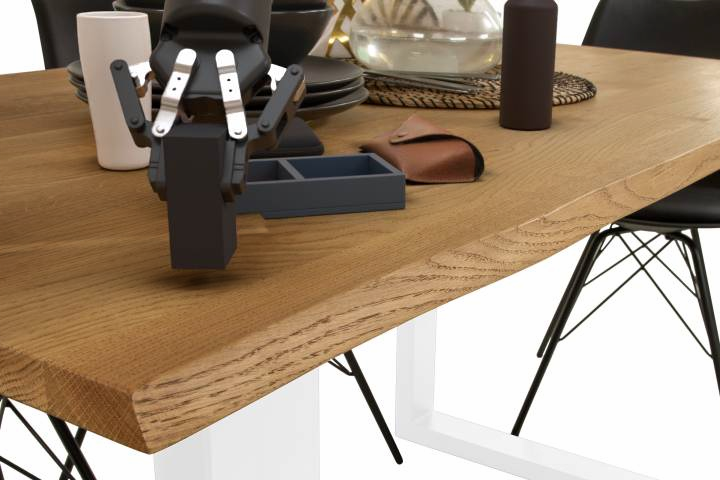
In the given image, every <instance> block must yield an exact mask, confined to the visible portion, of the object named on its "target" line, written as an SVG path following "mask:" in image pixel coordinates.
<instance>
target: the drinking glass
mask: <svg viewBox="0 0 720 480" xmlns="http://www.w3.org/2000/svg"><path fill="white" fill-rule="evenodd" d="M76 29H77V42H78V43H77V44H78V52H79V59H80V65H81V70H82V76H83V81H84V87H85V91H86V96H87V102H88V108H89V113H90V119H91V123H92V129H93V134H94V140H95V147H96V157H97V163H98V165H99V166H100V167H102V168H104V169H106V170H110V171H111V170H112V171H133V170H140V169H144V168H147V167H148V166H149V159H150V153H151V148H149V147H146V148H139V147H137V146H136V145H135V143H134V141H133V138H132V136H131V134H130V131H129V129H128V126H127V124H126V121H125V118H124V114H123V111H122V107H121V104H120V101H119V97H118V94H117V91H116V87H115V84H114V80H113V77H112V74H111V70H110V64H111V63H112V62H113V61H114V60H117V59H122V60H124V61H126V62H127V64H128V66H130V65H134V64H138V63H142V62H145V61H149V58H150V55H151V53H152V52H153V51H152V38H151V30H150V22H149V15H148V13H145V12H138V11H87V12H80V13H77V14H76ZM152 85H153V79H152V80H151V81H150V82H149V83H148V91H147V92H146V94H145V97H144V98H140V101H141V105H142V108H143V111H144V114H145V118H146V120H148V121H151V122H152V105H153V103H152V102H153V101H152V100H153V99H152V97H153V95H152V93H153V92H152V91H153V90H152V89H153V87H152Z"/></svg>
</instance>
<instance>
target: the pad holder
mask: <svg viewBox="0 0 720 480" xmlns="http://www.w3.org/2000/svg"><path fill="white" fill-rule="evenodd" d="M405 176H406V175H405V174H404V173H402V172H401V171H399V170H398V169H396V168H395V167H394V166H392V165H391V164H389V163H388V162H386V161H385V160H383V159H382V158H381V157H379V156H378V155H376V154H375V153H368V152H364V153H345V154H329V155H326V154H325V155H321V156H307V157H288V158H270V159H251V160H249V163H248V174H247V184H246V190H245V191H244V193H243V195H236V201H235V209H236V215H242V214H256V213H259V214H260V216H261V217H262V219H264V220H269V219H270V220H271V219H283V218H297V217H309V216H323V215H336V214H348V213H349V214H351V213H352V214H353V213H365V212H376V211H390V210H403V209H404V210H405V209H406V179H405Z"/></svg>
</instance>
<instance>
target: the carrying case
mask: <svg viewBox="0 0 720 480" xmlns="http://www.w3.org/2000/svg"><path fill="white" fill-rule="evenodd" d="M246 119H247V124H248V125H251V124H254V123H257V121H258V119H259V117H246ZM324 154H325V146H324V144H323V142H322V141H321V139H320V138H319V137H318V136H317V135H316V133H315V132H314V131H313V130H312V128H311V127H310V126H309V125H308V123H307V122H306V121H305V120H304V119H303V118H301V117H297V116H294V117H293V119H292V121H291V123H290V125H289V127H288V128H287V130H286V132H285V134H284V136H283V138H282V140H281V141H280V143H279V145H278V147H277V148H276V149H275V150H273V151H265V150H263V149H261V150H257V151H255V152H253V153H252V154H251V155H250V157H249V160H251V159H270V158H288V157H307V156H324Z"/></svg>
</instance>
